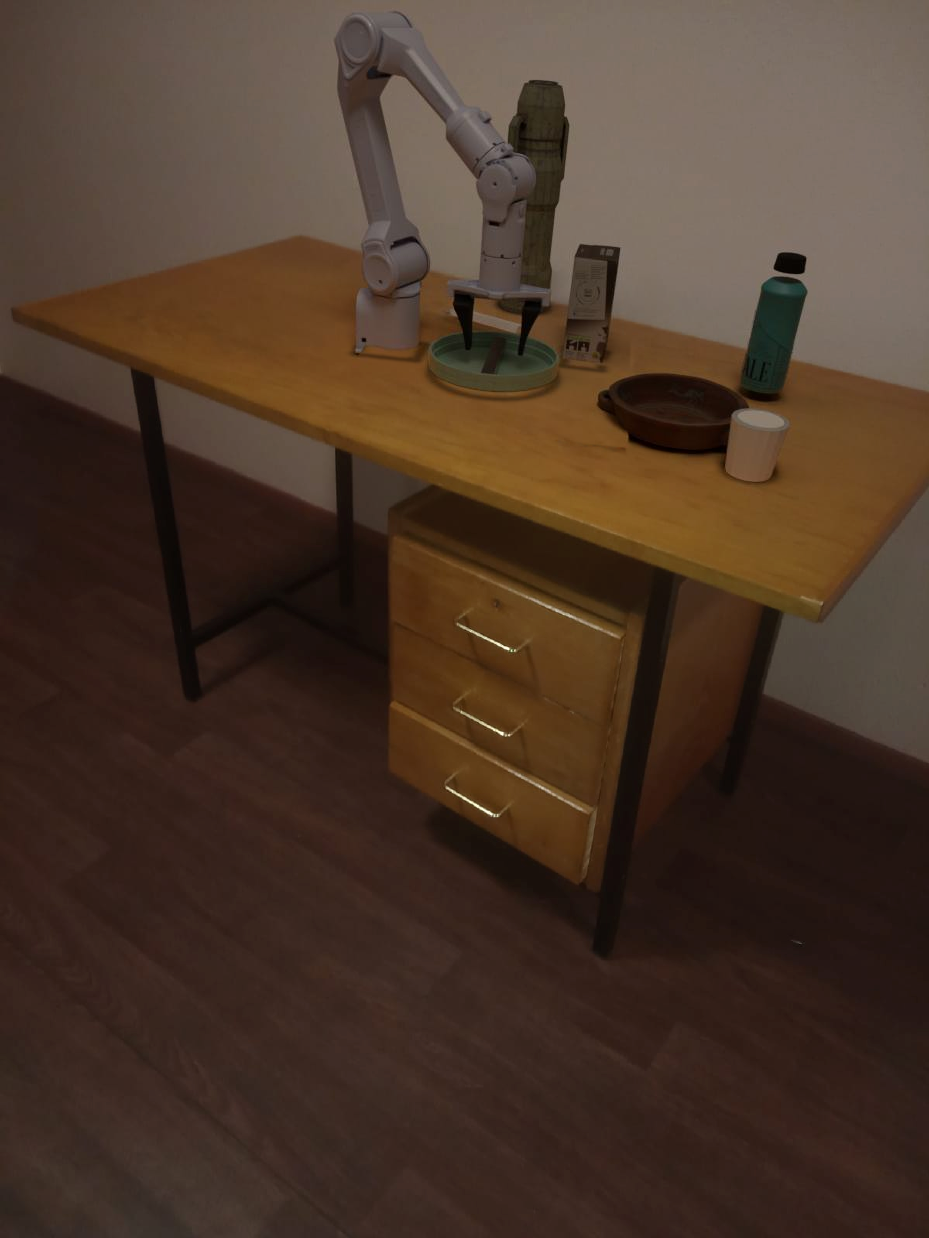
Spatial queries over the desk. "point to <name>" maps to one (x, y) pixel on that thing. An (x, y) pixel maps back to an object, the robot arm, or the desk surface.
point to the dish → (673, 409)
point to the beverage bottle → (775, 327)
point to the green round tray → (513, 371)
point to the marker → (491, 321)
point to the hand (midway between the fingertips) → (494, 350)
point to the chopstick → (494, 356)
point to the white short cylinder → (755, 443)
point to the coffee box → (591, 302)
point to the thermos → (539, 175)
